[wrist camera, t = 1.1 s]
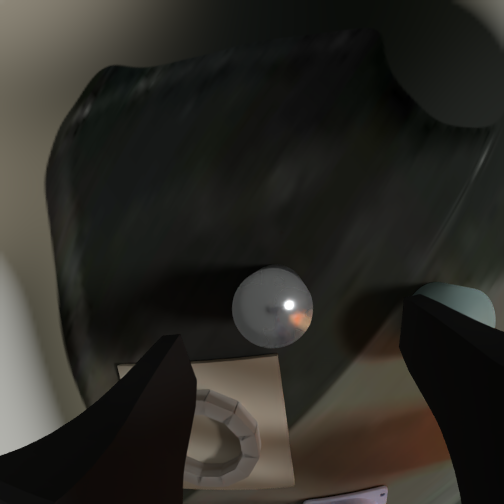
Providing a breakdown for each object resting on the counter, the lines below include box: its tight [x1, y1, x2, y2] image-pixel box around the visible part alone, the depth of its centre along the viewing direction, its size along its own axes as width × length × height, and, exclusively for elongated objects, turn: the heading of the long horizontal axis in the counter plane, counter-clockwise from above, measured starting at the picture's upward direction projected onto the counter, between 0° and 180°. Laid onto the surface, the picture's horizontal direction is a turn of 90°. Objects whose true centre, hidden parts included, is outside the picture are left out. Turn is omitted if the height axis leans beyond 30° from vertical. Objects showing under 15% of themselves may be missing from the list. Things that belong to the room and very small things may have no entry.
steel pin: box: [232, 264, 313, 348], centre depth 19 cm, size 4×4×7 cm
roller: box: [412, 282, 495, 328], centre depth 19 cm, size 6×6×5 cm
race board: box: [117, 353, 295, 490], centre depth 22 cm, size 13×13×3 cm
